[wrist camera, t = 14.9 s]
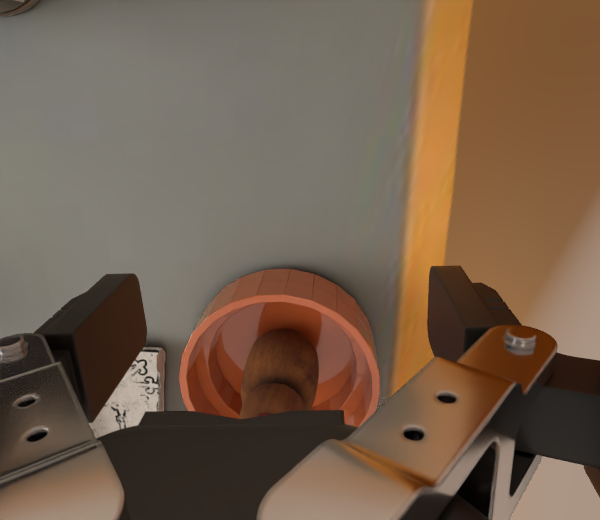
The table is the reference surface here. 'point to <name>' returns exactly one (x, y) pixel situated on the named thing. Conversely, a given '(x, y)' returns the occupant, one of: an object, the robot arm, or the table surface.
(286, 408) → the wooden figurine
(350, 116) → the table surface
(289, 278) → the bowl
